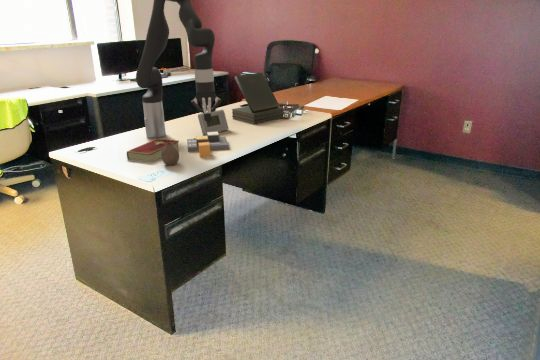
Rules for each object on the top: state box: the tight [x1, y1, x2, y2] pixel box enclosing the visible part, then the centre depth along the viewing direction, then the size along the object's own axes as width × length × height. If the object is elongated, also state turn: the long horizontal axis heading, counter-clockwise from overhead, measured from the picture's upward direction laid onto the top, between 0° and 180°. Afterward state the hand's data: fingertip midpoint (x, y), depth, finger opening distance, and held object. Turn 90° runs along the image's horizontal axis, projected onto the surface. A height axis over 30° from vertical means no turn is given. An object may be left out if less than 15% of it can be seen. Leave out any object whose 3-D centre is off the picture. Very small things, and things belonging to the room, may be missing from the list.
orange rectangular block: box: [198, 142, 211, 158], centre depth 179 cm, size 4×4×5 cm
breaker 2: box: [206, 132, 220, 141], centre depth 193 cm, size 5×5×3 cm
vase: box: [160, 143, 180, 167], centre depth 167 cm, size 7×7×9 cm
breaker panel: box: [186, 136, 230, 153], centre depth 191 cm, size 18×14×3 cm
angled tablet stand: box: [231, 72, 285, 126], centre depth 238 cm, size 23×20×25 cm
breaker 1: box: [195, 135, 208, 146], centre depth 187 cm, size 5×5×3 cm
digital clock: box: [197, 109, 230, 136], centre depth 213 cm, size 16×9×11 cm, turn 122°
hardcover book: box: [126, 138, 180, 163], centre depth 182 cm, size 12×21×4 cm, turn 158°
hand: (207, 121), depth 177 cm, fingers closed
